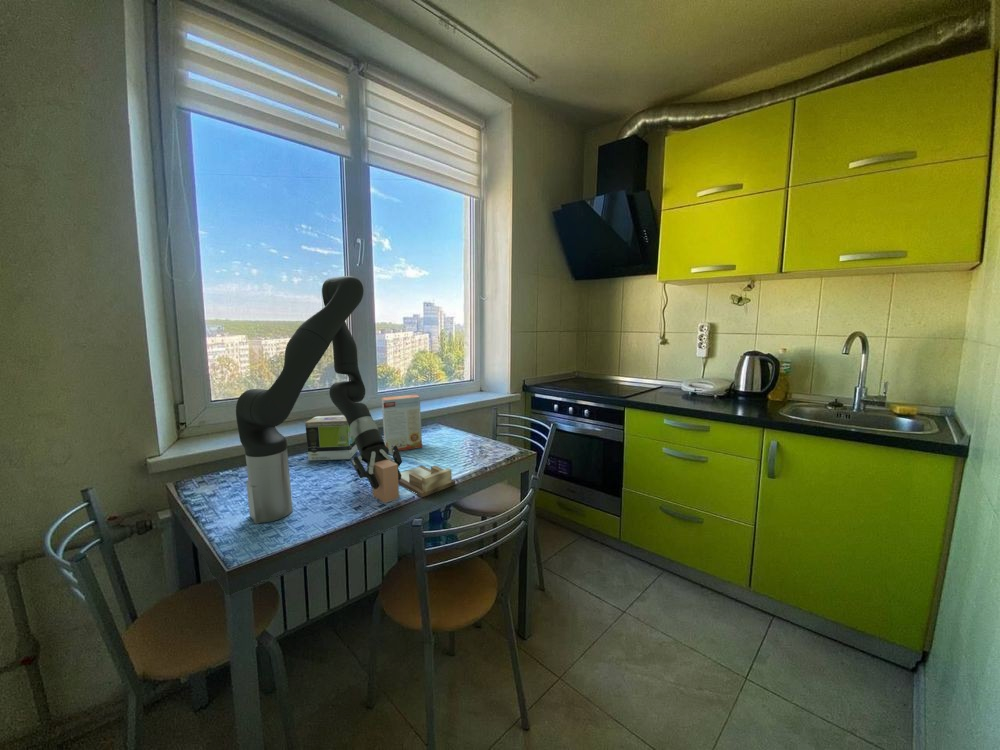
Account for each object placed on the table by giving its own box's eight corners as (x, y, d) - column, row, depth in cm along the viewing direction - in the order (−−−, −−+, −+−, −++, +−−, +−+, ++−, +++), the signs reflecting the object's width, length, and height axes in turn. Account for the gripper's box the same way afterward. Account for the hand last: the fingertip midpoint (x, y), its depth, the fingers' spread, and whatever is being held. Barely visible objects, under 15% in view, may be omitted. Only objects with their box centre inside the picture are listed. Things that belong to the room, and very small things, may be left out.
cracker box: (419, 443, 158) (417, 393, 155) (422, 448, 153) (420, 396, 150) (383, 448, 153) (381, 396, 150) (386, 453, 147) (383, 399, 144)
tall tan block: (384, 503, 107) (382, 468, 105) (372, 495, 112) (370, 462, 110) (399, 497, 110) (397, 464, 108) (386, 490, 115) (385, 458, 113)
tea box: (358, 451, 150) (355, 414, 148) (349, 460, 140) (347, 420, 138) (318, 452, 149) (315, 414, 147) (307, 461, 139) (304, 421, 137)
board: (422, 497, 110) (421, 480, 109) (390, 479, 123) (389, 463, 122) (455, 484, 118) (454, 468, 118) (422, 469, 131) (421, 454, 130)
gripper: (346, 433, 108) (368, 485, 102) (392, 423, 118) (414, 470, 112) (339, 447, 113) (360, 498, 106) (384, 436, 123) (405, 482, 116)
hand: (388, 483), depth 109 cm, fingers open, 6 cm apart
